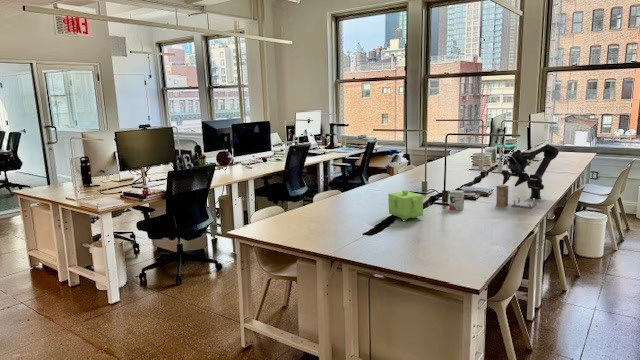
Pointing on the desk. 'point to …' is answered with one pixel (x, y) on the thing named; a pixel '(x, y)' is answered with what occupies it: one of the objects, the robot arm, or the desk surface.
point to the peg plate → (524, 203)
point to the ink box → (456, 200)
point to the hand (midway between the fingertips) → (509, 185)
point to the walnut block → (502, 195)
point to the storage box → (405, 204)
